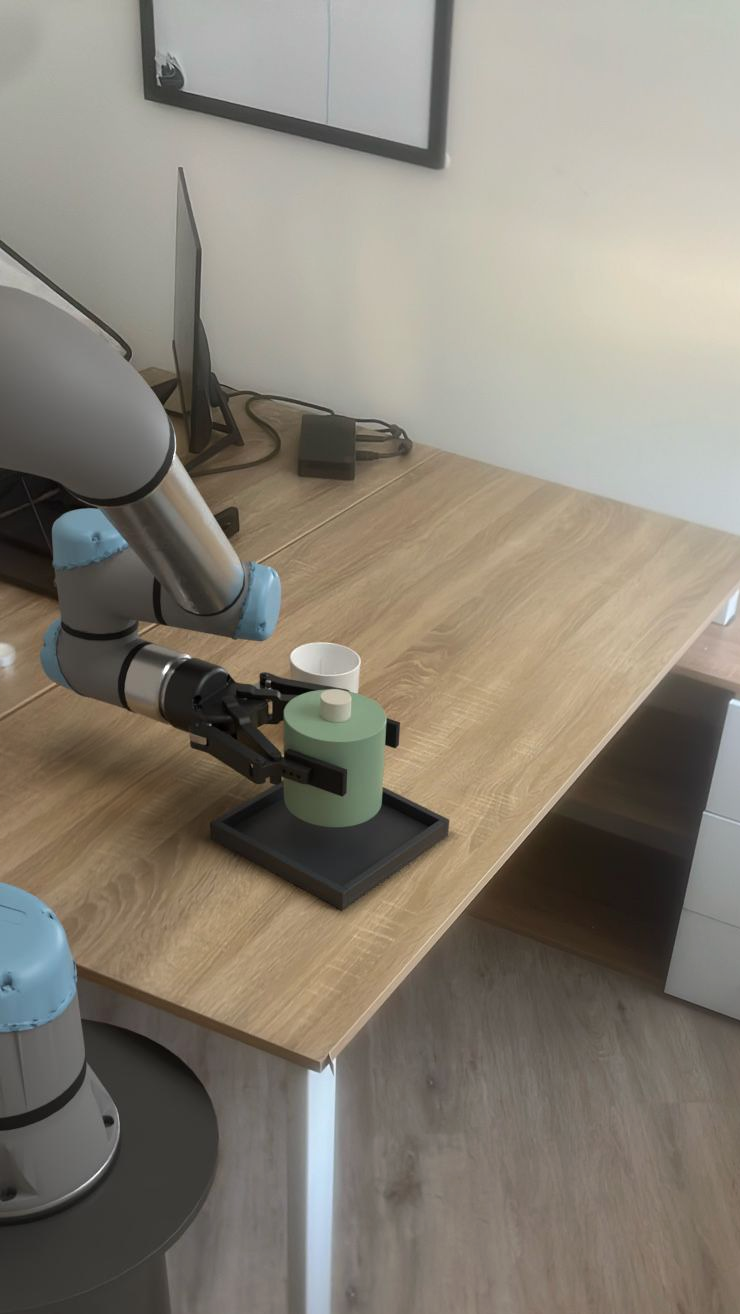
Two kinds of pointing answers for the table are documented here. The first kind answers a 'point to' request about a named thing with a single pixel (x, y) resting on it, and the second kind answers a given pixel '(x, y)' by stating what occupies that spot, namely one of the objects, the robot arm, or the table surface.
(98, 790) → the table surface
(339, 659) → the white cup
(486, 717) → the table surface
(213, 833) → the tray
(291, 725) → the cover
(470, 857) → the table surface
